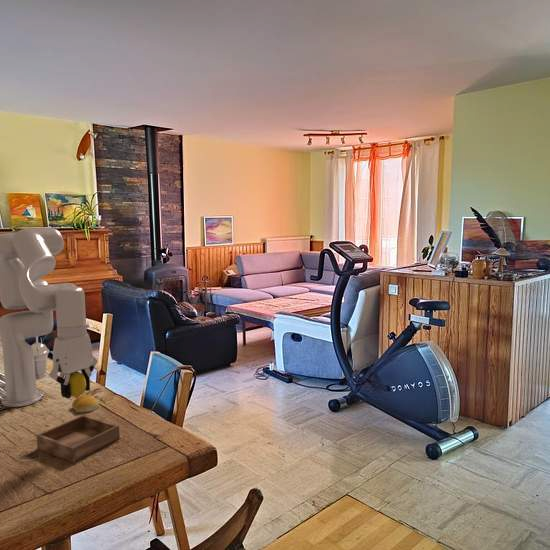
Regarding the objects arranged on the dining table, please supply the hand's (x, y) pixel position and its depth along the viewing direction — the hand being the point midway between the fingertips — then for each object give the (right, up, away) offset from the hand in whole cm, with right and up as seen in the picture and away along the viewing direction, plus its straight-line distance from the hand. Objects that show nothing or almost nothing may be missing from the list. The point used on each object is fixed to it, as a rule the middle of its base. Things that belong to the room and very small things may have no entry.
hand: (76, 392), depth 136 cm
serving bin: (0, -15, +2) cm, 15 cm away
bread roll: (-8, -12, +28) cm, 31 cm away
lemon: (0, -2, 0) cm, 2 cm away
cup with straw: (-39, -8, +59) cm, 71 cm away
